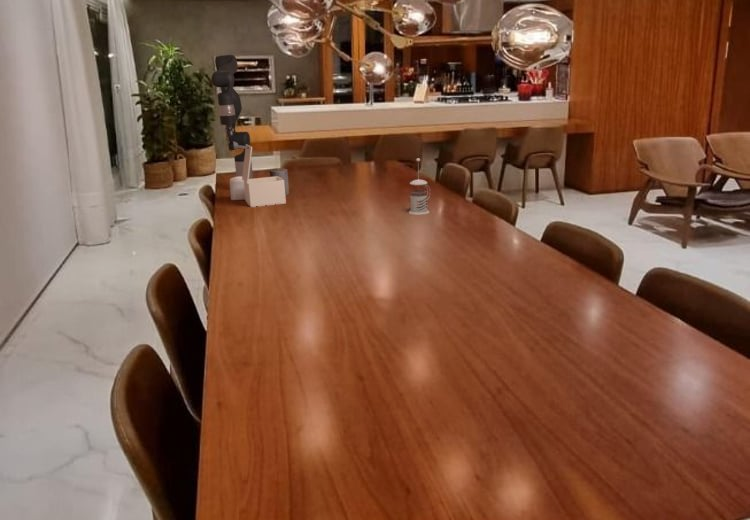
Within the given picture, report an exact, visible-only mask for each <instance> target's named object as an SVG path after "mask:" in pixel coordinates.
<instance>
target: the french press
mask: <svg viewBox="0 0 750 520" xmlns="http://www.w3.org/2000/svg"><path fill="white" fill-rule="evenodd" d="M415 161H416V162H420V161H421V158H419V157H418V158H416V159H415ZM419 166H420V165H419V163H417V177H418V178H417V179H414V180H412V181H410V182H409V184H410V186H417V188H418V189H416V190H411V191H410V193H411V194H410V197H409V198H410V210H408V214H410V215H415V216H416V215H418V216H419V215H428V214H429V213H430V211H429V209H428V200H429V199H430V197H431V194H429V190H431V188H430V186H429V185H428V181H426V180H424V179H420V175H419V174H420V173H419V169H420V168H419ZM420 186H422V187H423V188H424V189H427V191H426V190H424V189H420ZM428 195H429V196H428Z"/></svg>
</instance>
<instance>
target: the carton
mask: <svg viewBox="0 0 750 520" xmlns="http://www.w3.org/2000/svg"><path fill="white" fill-rule="evenodd" d="M244 188H245V198H246V200H245V203H246V202H247V203H246V205H248V206H249V207H250V208H257V207H256V206H258V207H265V205H267V206H273V205H274V206H275V204H276V205H284V204H287V200H286V199H287V198H286V196H285V185H284V180H283V179H282V178H280V177H278V176H275V177H270V176H265V177H257V178H255V177H253V179H249V181H248V184H247V183H246V182H245V181H244Z"/></svg>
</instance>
